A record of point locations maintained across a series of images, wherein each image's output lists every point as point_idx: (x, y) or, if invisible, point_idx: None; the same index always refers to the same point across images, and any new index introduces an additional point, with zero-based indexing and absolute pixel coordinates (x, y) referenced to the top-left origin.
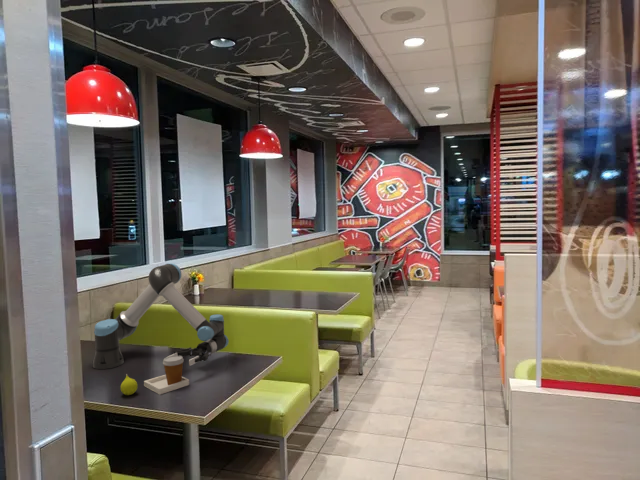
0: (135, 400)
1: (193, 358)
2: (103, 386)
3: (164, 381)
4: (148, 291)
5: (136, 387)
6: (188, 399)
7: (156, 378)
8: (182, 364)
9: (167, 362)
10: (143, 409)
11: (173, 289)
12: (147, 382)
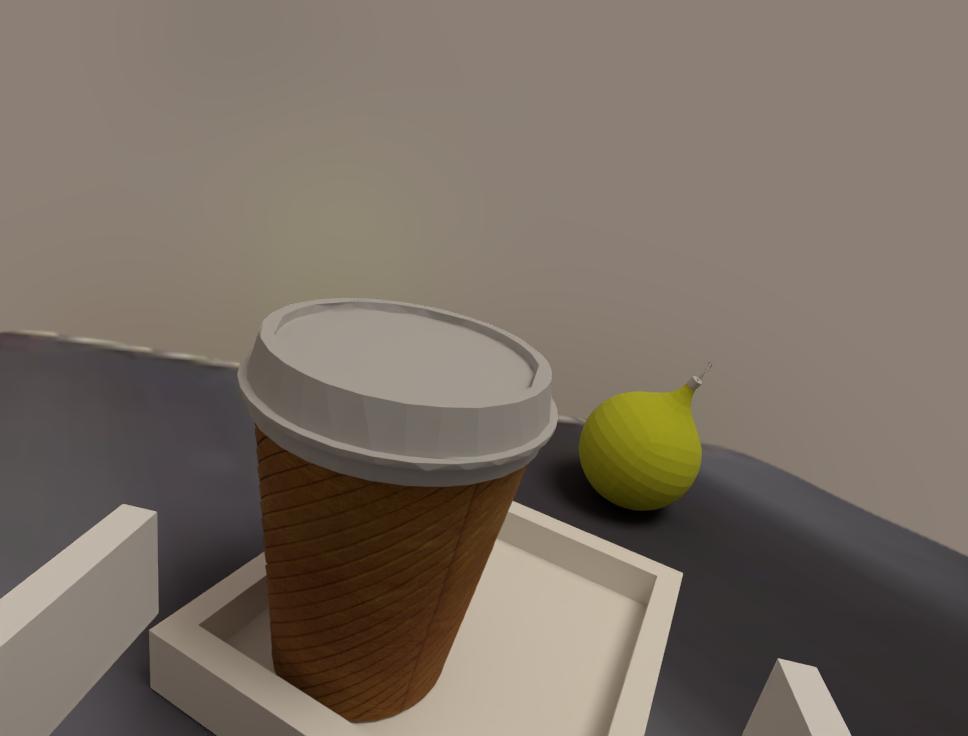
0: None
1: (19, 591)
2: (958, 594)
3: (530, 691)
4: None
5: (583, 449)
6: (121, 440)
7: (634, 652)
8: (255, 433)
9: (423, 317)
10: None
11: None
12: (615, 548)
